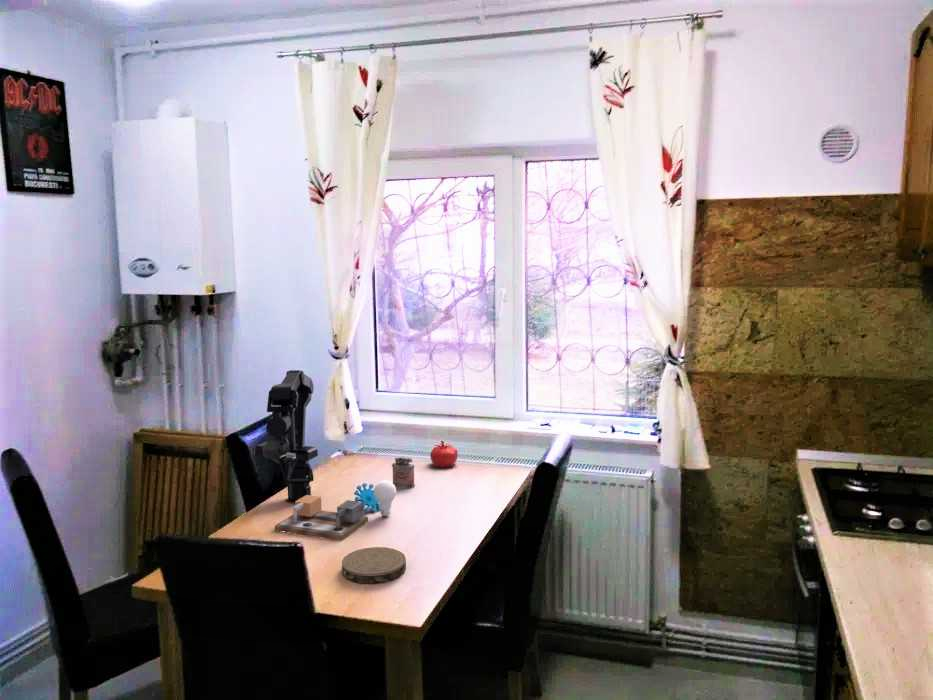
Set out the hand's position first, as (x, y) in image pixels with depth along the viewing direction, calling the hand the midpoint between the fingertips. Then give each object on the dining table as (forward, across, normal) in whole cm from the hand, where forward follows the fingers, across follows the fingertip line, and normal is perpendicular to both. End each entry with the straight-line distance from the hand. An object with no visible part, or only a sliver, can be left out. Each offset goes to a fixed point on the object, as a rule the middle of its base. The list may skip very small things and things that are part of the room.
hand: (287, 479), depth 222 cm
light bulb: (+12, +27, +10) cm, 31 cm away
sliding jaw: (+10, +7, -2) cm, 12 cm away
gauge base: (+12, +13, -2) cm, 18 cm away
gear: (+12, +20, +15) cm, 28 cm away
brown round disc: (+12, +41, -24) cm, 49 cm away
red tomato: (+12, +24, +64) cm, 69 cm away
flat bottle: (+12, +20, +38) cm, 44 cm away
